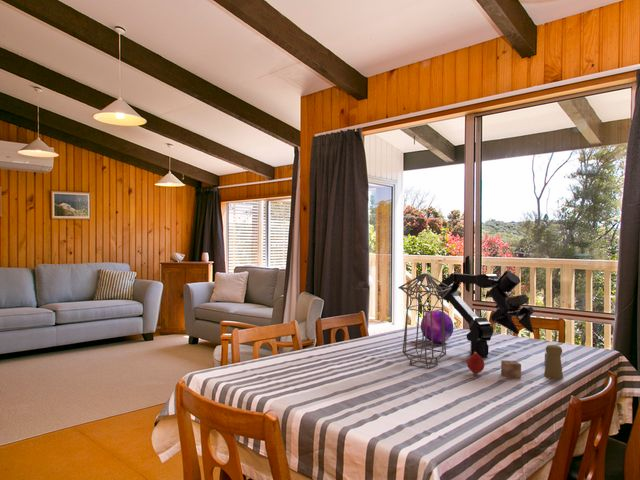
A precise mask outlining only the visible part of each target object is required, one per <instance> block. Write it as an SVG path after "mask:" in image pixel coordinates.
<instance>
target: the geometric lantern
mask: <svg viewBox="0 0 640 480" xmlns="http://www.w3.org/2000/svg"><path fill="white" fill-rule="evenodd" d="M425 280H426V283H427V285H425V284H423V283H424V281H425ZM437 282H438V283H439V284H440V283H441V284H443V285H444V286H446V287H439V286H438V285H439V284H438V283H437ZM409 284H410V285H409ZM407 285H409V286H407ZM421 287H422V288H423V289H424V290H420V289H421ZM437 288H438V289H439V290H441V291H439V290H437ZM444 288H447V289H446V290H444V291H443V290H442V289H444ZM398 289H399V290H401V291H403V292H404V293H405V294H406V305H405V307H406V313H405V323H404V334H403V343H402V344H403V346H402V355H404V356H405V357H406V358H407V359H408V360H409V366H412V367H416V368H422V369H426V370H429V369H432V368H435V367H436V366H438V365H439V362H438V361H439V360H441V358H443V357H445V356H447V345H446V341H445V328H444V313H445V312H444V308H445V307H444V299H443V297H444V296H445V295H446V294H447V293H448V292H449V291H450V290H451V289H452V288H451V287H449V286H447V285H446V284H444V283H442V281H440V280H439V279H437V278H435V277H433V276H431V275H430V274H429V273H427V272H426V273H421V274H420V275H418V276H417V277H414V278H413V279H411V280H409V281H407V282H406V283H404V284H402V285H400V286H399V287H398ZM447 290H448V291H447ZM445 291H447V292H446V293H445V294H444V292H445ZM437 292H438V294H437ZM439 292H441V293H440V294H439ZM418 293H423V294H421V295H419V296H418ZM442 293H443V294H442ZM428 294H429V295H428ZM441 294H442V297H440V296H439V295H441ZM426 295H428V296H427V298H426V299H425V301H424V302H423V303H422V301H421V300H420V298H422V297H424V296H426ZM413 296H414V297H413ZM431 296H434V297H436V298H437V300H436V301H435V304H434V305H433V306H431V305H426V303H427V301H429V299H430V297H431ZM409 298H410V299H411V301H410V303H409ZM413 300H417V302H418V304H416V305H412V303H413ZM438 302H440V304H441V307H440V306H436V305H437V303H438ZM408 303H409V304H408ZM408 305H409V306H408ZM411 305H412V306H411ZM414 307H418V309H416V308H414ZM421 307H422V309H421ZM425 307H429V308H432V309H431V310H427V309H426V308H425ZM434 309H435V310H434ZM409 310H410V311H417V322H416V323H417V324H416V336H415V337H416V338H415V339H416V340H415V347H413V348H409V349H407V338H408V317H409ZM434 311H442V342H441V350H437V349H434V342H433V331H432V312H434ZM420 312H422V319H423V333H422V338H421V340H422V341H421V347H419V346H418V338H419V337H418V336H419V323H420ZM428 312H429V313H430V316H431V341H430V342H431V348H427V343H428V342H427V341H428V339H427V313H428ZM424 316H425V336H424ZM443 335H444V341H443ZM418 349H419V350H420V353H419V352H418ZM414 350H415V351H416V355H413V354H410V353H407V352H411V351H414ZM423 350H424V355H422V354H423ZM427 351H431V356H427ZM434 352H437V353H439V355H437V356H434ZM419 354H420V355H419ZM410 357H411V358H410ZM415 359H419V360H415ZM429 360H430V361H429ZM415 363H422V364H423V365H424V364H426V367H425V366H421V365H416V364H415ZM414 364H415V365H414ZM431 364H432V365H433V366H431ZM428 365H429V367H428Z"/></svg>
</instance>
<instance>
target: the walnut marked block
mask: <svg viewBox="0 0 640 480" xmlns="http://www.w3.org/2000/svg"><path fill="white" fill-rule="evenodd" d="M500 361H501V362H500V375H502V377H504V378H505V377H506V378H505V379H517V380H518V379H522V364H521V363H520V362H518V361H516V360H505V359H503V360H500Z"/></svg>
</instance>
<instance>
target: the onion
mask: <svg viewBox="0 0 640 480" xmlns="http://www.w3.org/2000/svg"><path fill="white" fill-rule="evenodd" d="M466 365H467V368H468V369H469V370H470V371H471V373H472V374H473V375H479V373H481V372H482V371H483V370H484V369H485V361H484V359H483V357H481V356H479V355H478V354H477V352H474V354H473V355H470V356H469V357H468V358H467V362H466Z"/></svg>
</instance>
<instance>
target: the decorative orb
mask: <svg viewBox="0 0 640 480" xmlns="http://www.w3.org/2000/svg"><path fill="white" fill-rule="evenodd" d="M433 311H434V310H433ZM444 328H445V342H446V341H448V340H449V339H450V338H451V336H452V335H453V333H454V322H453V320H452V318H451V316H450V315H449V314H448V313H446V312H444ZM420 330H421V333H422V334H423V318H422V319H421V321H420ZM432 331H433V344H434V343H435V344H439V343H441V344H442V310H439V311H434V312H432ZM424 337H425V315H424ZM427 341H428V342H431V316H430V313H429V312H427ZM443 341H444V335H443Z"/></svg>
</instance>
